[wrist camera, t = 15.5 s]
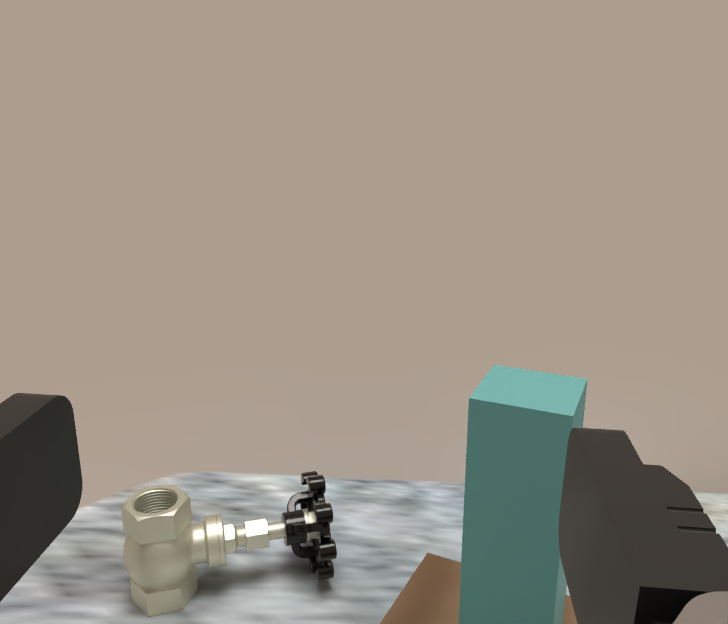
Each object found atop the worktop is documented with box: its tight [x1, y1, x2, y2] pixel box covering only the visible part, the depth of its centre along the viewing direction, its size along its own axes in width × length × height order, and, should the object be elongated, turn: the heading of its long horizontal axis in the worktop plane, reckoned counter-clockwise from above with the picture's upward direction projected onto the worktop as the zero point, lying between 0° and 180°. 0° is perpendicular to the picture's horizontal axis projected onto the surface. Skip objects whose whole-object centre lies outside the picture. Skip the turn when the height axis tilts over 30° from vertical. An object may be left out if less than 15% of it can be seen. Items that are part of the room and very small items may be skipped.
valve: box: [121, 471, 337, 616], centre depth 41 cm, size 7×7×12 cm
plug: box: [458, 365, 587, 624], centre depth 33 cm, size 4×4×15 cm
